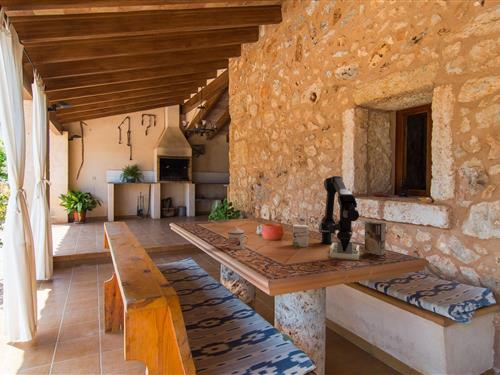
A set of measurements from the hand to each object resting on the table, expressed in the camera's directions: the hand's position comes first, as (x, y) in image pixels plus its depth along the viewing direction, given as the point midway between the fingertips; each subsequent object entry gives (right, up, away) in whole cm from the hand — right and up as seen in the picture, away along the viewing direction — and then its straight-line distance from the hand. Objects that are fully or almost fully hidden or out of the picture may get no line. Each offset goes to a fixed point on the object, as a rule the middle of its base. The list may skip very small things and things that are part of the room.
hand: (344, 249), depth 159 cm
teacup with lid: (-54, -3, +17) cm, 56 cm away
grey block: (0, -3, 0) cm, 3 cm away
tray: (0, -3, 0) cm, 3 cm away
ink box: (-18, -3, +24) cm, 31 cm away
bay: (+4, -3, +12) cm, 13 cm away
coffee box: (+18, -4, +8) cm, 20 cm away
